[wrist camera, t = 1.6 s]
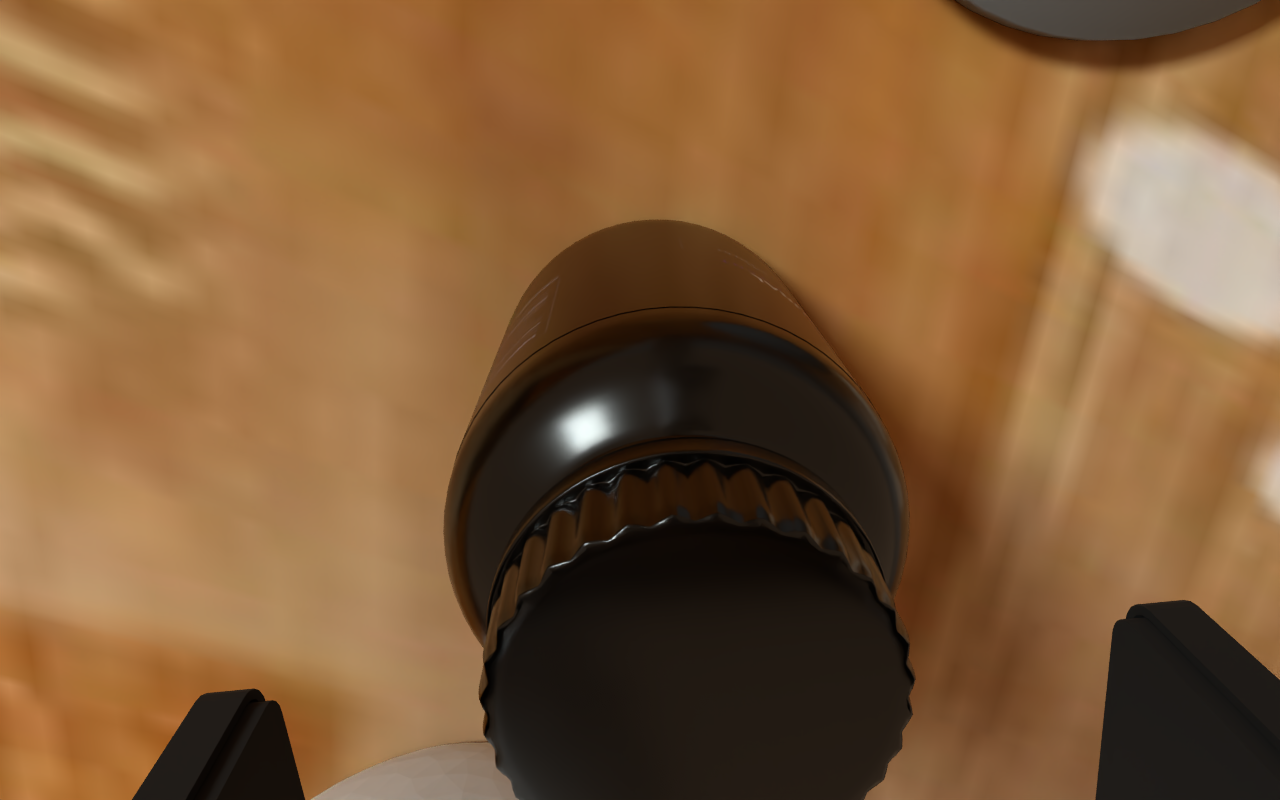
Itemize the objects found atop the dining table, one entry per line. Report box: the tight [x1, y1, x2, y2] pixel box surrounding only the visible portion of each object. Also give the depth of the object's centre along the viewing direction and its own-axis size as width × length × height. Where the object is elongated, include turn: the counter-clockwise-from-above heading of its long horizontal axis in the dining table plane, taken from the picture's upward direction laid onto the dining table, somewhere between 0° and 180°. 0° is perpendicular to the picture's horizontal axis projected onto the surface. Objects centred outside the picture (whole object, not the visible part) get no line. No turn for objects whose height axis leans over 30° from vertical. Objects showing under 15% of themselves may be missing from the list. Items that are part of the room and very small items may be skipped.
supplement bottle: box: [444, 220, 915, 800], centre depth 16 cm, size 7×7×12 cm
